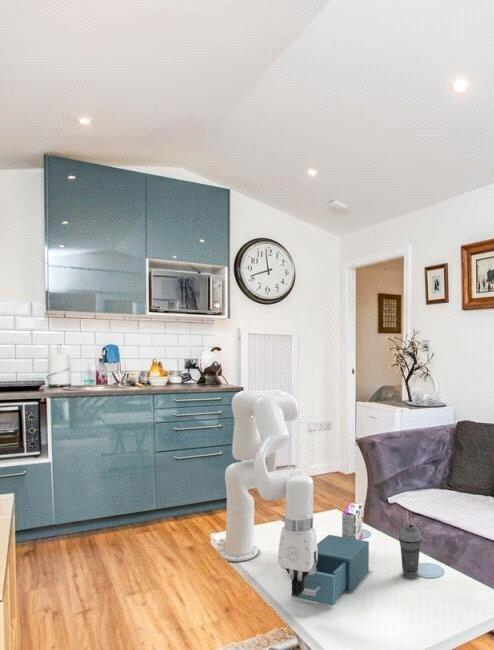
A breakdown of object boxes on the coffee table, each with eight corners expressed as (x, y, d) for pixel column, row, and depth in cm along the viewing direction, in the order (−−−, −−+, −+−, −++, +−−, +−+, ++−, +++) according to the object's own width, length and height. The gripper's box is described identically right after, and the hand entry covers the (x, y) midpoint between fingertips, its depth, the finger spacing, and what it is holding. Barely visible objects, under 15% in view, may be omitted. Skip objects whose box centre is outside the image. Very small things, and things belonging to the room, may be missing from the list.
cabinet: (350, 592, 145) (350, 559, 146) (307, 583, 150) (307, 551, 151) (368, 572, 158) (368, 541, 159) (328, 564, 164) (328, 534, 165)
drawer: (325, 614, 132) (326, 584, 132) (283, 604, 137) (283, 575, 137) (352, 584, 148) (353, 557, 149) (313, 576, 153) (314, 550, 154)
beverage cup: (415, 583, 151) (415, 516, 152) (394, 577, 155) (394, 512, 156) (425, 574, 157) (425, 510, 159) (405, 568, 161) (405, 506, 162)
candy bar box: (348, 549, 176) (349, 502, 177) (362, 550, 175) (362, 503, 176) (341, 562, 165) (341, 512, 166) (355, 564, 164) (356, 513, 165)
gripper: (267, 523, 132) (266, 594, 131) (316, 531, 126) (315, 606, 125) (282, 515, 139) (281, 582, 137) (329, 522, 133) (329, 592, 132)
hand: (297, 593), depth 131 cm, fingers closed
